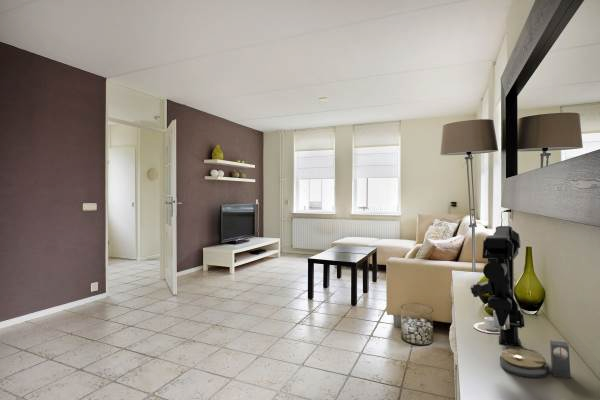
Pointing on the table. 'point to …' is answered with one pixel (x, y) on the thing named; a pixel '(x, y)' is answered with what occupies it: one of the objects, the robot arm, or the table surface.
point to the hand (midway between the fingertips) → (501, 323)
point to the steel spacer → (496, 323)
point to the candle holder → (487, 325)
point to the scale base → (558, 364)
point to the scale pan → (523, 358)
